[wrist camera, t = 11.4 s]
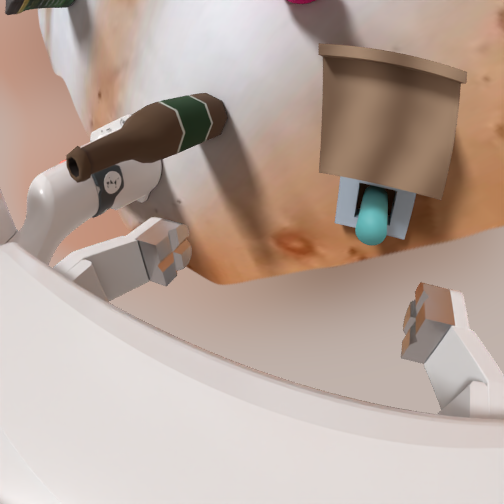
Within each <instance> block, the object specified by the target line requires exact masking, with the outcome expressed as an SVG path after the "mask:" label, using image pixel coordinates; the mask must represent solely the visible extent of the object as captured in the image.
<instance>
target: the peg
mask: <svg viewBox="0 0 504 504" xmlns="http://www.w3.org/2000/svg"><path fill="white" fill-rule="evenodd" d="M387 217H388V194H387V191H386V190H385V189H384V188H382V187H378V186H374V185H370V186H368V187H367V188H366V189H365V191H364V195H363V199H362V203H361V208H360V212H359V216H358V220H357V224H356V229H355V231H356V235H357V237H358V239H359V240H360V241H361V242H363V243H364V244H367V245H377V244H380V243H381V242H382V241H383V240H384V239H385V237H386V235H387Z"/></svg>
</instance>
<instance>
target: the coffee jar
mask: <svg viewBox="0 0 504 504" xmlns="http://www.w3.org/2000/svg"><path fill="white" fill-rule="evenodd" d="M74 2H75V0H6V11H5V13H6V14H7V15H11V14H18V13H21V12H23V11H25V10H29V9H36V8H62V7H69V6H70V5H71V4H72V3H74Z"/></svg>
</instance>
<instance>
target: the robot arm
mask: <svg viewBox="0 0 504 504" xmlns="http://www.w3.org/2000/svg"><path fill="white" fill-rule="evenodd" d="M130 116H131V114H128V115H126V116H123V117H121V118H119V119H117V120H115V121H113V122H111V123H109V124H107V125H105V126H103V127H101V128H99V129H97V130H95V131H93V132H92V133H91V138H90V142H89V143H87V144H85V145H82V146H81V147H80V148H82V147H84V146H86V145H88V144H90V143H92V142H94V141H96V140H98V139H100V138H102V137H104V136H106V135H108V134H110V133H113V132H115V131H117V130H119V129H121V128H122V126H123V124H124V123H125V121H126V120H127V119H128V118H129V117H130ZM160 176H161V160H158V161H156V162H153V163H141V162H138V161H135V160H128V161H124V162H121V163H118V164H116V165H113V166H111V167H108V168H106V169H104V170H101V171H99V172H97V173H94V174H92V175H91V177H90V178H89V179H88V180H86V181H84V182H79V183H77V182H76V181H75V180H74V179H73V178H72V177H71V176H70V174H69V171H68V169H67V166H66V160H63V161H61V162H60V163H59V164H58V165H56V166H54V167H52V168H50V169H49V170H47V171H45V172H43V173H41V174H39V175H38V176H37V177H36V178H35V179H34V180H33V182H32V183H31V185H30V188H29V191H28V196H27V215H26V220H25V223H24V225H23V227H22V228H21V230H20V231H19V232H18V230H17V229H16V227H15V225H14V223H13V220H12V218H11V215H10V213H9V210H8V208H7V205H6V203H5V200H4V197H3V195H2V192H1V189H0V504H504V375H503V374H502V372H501V370H500V369H499V367H498V366H497V364H496V363H495V361H494V359H493V358H492V356H491V355H490V354H489V352H488V351H487V349H486V348H485V346H484V345H483V343H482V342H481V340H480V339H479V338H478V336H477V335H476V334H475V332H474V331H473V330H470V328H469V322H468V317H467V311H466V306H465V301H464V297H463V293H462V292H460V291H456V290H452V289H445V288H441V287H438V286H434V285H429V284H425V283H420V284H419V286H418V287H417V289H416V292H415V297H416V299H415V300H414V301H412V302H411V303H410V305H409V307H408V309H407V312H406V315H405V319H404V324H403V331H404V333H405V334H406V336H405V338H404V339H403V341H402V352H401V358H403V359H407V360H411V361H415V362H419V363H423V364H424V367H425V369H426V372H427V374H428V376H429V379H430V381H431V384H432V386H433V389H434V391H435V394H436V397H437V399H438V402H439V405H440V407H441V411H440V412H439V413H438V414H430V413H423V412H417V411H411V410H405V409H399V408H394V407H389V406H384V405H379V404H375V403H370V402H365V401H361V400H357V399H352V398H349V397H345V396H340V395H337V394H333V393H329V392H325V391H322V390H318V389H315V388H311V387H308V386H305V385H301V384H298V383H295V382H292V381H289V380H286V379H282V378H279V377H276V376H273V375H270V374H268V373H265V372H262V371H259V370H256V369H253V368H250V367H248V366H245V365H242V364H240V363H237V362H234V361H232V360H230V359H227V358H224V357H222V356H220V355H217V354H214V353H212V352H210V351H207V350H205V349H202V348H200V347H198V346H196V345H193V344H191V343H189V342H187V341H184V340H182V339H180V338H178V337H175V336H174V335H171V334H169V333H167V332H165V331H163V330H161V329H159V328H157V327H155V326H153V325H151V324H149V323H147V322H145V321H143V320H141V319H139V318H137V317H135V316H133V315H131V314H129V313H127V312H125V311H123V310H122V309H120V308H118V307H116V306H114V305H112V304H111V303H109V301H111V300H113V299H115V298H116V297H119V296H121V295H123V294H125V293H127V292H129V291H131V290H133V289H135V288H136V287H139V286H141V285H143V284H145V283H147V282H149V280H150V281H152V282H155V283H158V284H161V285H164V286H167V285H168V284H169V283H170V282H171V281H172V280H173V279H174V278H175V277H176V276H177V271H178V270H181V269H184V268H185V267H186V266H187V264H188V263H189V261H190V258H191V254H192V249H191V244H190V243H189V242H188V240H187V238H188V236H189V231H188V227H187V226H186V225H185V224H182V223H178V222H174V221H170V220H166V219H162V218H157V217H151V218H150V219H148V220H147V221H146V222H144V223H143V224H141V225H140V226H139V227H137V228H136V229H135V230H133V231H132V232H131V233H129V234H128V235H127V236H121V237H117V238H114V239H111V240H108V241H105V242H101V243H98V244H95V245H92V246H89V247H86V248H83V249H80V250H77V251H74V252H72V253H71V254H69V255H68V256H67V257H65V258H64V259H63V260H62V261H60V262H59V263H58V264H57V265H56V266H54V267H53V268H51V267H50V266H48V265H49V262H50V260H51V257H52V256H53V254H54V252H55V250H56V248H57V247H58V246H59V244H60V243H61V241H62V240H63V239H64V238H65V237H66V236H67V235H69V234H70V233H71V232H72V231H73V230H75V229H76V228H77V227H78V226H80V225H81V224H82V223H84V222H85V221H87V220H88V219H89V218H91V217H96V216H98V215H101V214H102V213H104V212H105V211H106V210H108V209H109V208H111V209H115V210H118V209H120V208H122V207H124V206H126V205H128V204H130V203H132V202H134V201H139V202H144V201H146V200H147V199H148V196H149V193H150V191H151V190H152V189H154V188H155V187H156V185H157V184H158V182H159V180H160Z"/></svg>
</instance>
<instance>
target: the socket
mask: <svg viewBox="0 0 504 504" xmlns="http://www.w3.org/2000/svg"><path fill="white" fill-rule="evenodd" d="M360 183H364V184H369V185H374V186H378V187H382V188H387V189H391V190H395V194H394V199H393V204H392V209H391V213H390V216H388V217H387V235H388V236H392V237H396V238H400V239H403V240H404V239H405V235H406V232H407V228H408V225H409V221H410V217H411V213H412V209H413V205H414V201H415V197H416V193H413V192H409V191H405V190H401V189H397V188H393V187H389V186H384V185H380V184H375V183H371V182H366V181H362V180H357V179H352V178H347V177H342V176H340V185H339V194H338V202H337V210H336V217H335V223H337V224H341V225H345V226H350V227H354V228H356V224H357V220H358V216H359V212H360V209H358V208H357V202H358V195H359V189H360Z"/></svg>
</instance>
